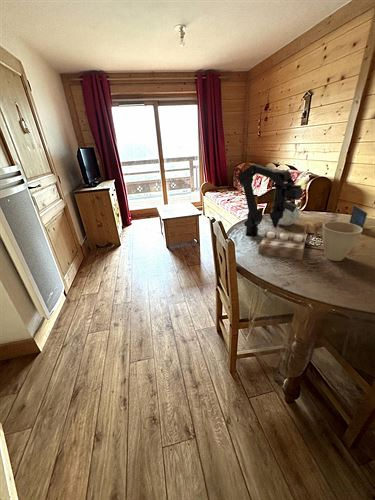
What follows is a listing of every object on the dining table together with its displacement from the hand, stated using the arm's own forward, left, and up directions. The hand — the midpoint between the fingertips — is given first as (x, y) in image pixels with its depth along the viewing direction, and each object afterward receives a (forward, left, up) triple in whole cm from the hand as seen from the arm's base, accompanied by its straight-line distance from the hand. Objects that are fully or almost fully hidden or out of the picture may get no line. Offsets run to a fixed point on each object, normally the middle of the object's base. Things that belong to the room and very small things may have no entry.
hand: (276, 224), depth 119 cm
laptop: (+36, +35, -12) cm, 51 cm away
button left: (-2, -2, -8) cm, 9 cm away
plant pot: (+29, -8, -11) cm, 32 cm away
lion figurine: (+19, +20, -11) cm, 30 cm away
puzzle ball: (+2, +32, -11) cm, 34 cm away
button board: (+5, -5, -11) cm, 13 cm away
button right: (+12, -2, -8) cm, 15 cm away
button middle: (+5, -2, -8) cm, 10 cm away
